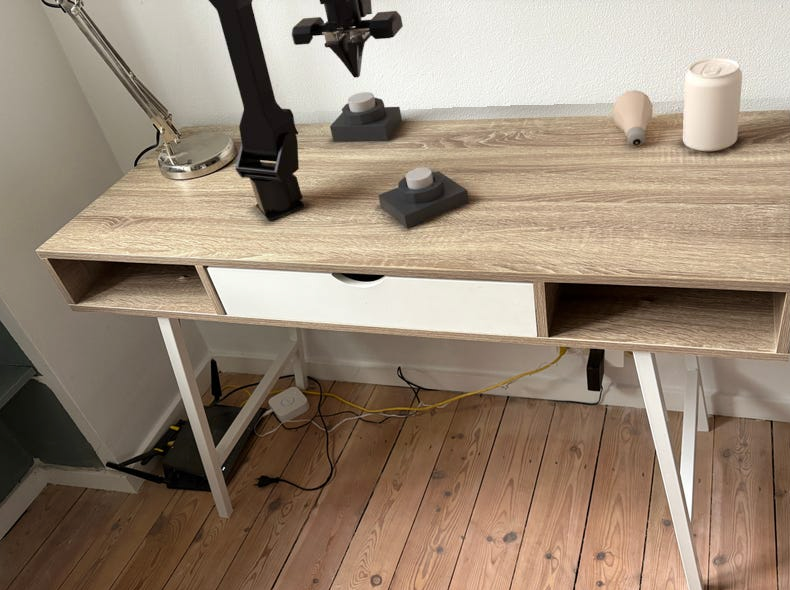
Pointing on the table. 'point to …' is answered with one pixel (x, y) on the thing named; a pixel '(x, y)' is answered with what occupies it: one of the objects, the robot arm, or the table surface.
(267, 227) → the table surface
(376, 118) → the dark grey button mount
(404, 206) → the dark grey button base
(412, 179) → the small button
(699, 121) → the beverage can
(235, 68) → the robot arm
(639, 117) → the light bulb
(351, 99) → the large button
